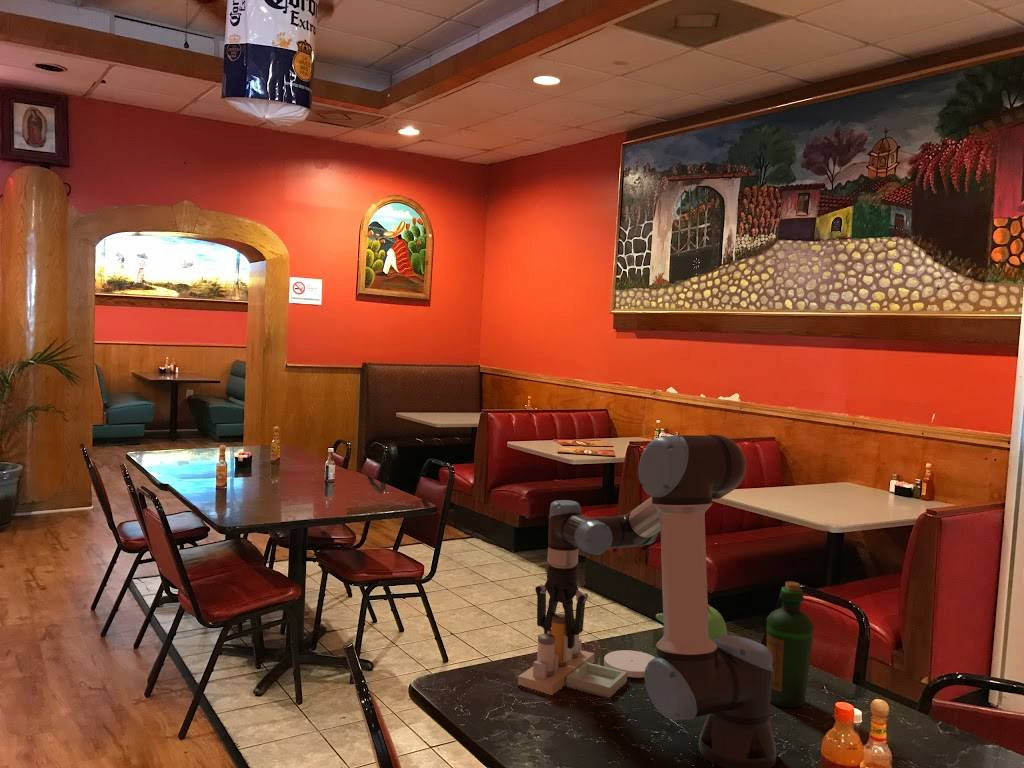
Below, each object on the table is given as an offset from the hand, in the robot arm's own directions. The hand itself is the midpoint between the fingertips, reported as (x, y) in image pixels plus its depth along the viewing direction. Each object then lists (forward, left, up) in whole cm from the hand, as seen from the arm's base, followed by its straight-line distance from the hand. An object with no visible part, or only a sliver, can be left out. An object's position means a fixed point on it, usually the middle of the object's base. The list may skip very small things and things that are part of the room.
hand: (558, 657), depth 207 cm
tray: (0, -10, -4) cm, 11 cm away
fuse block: (0, 0, -4) cm, 4 cm away
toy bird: (+32, -24, -4) cm, 40 cm away
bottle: (+17, -51, -4) cm, 54 cm away
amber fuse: (0, 0, -2) cm, 2 cm away
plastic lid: (+14, -14, -5) cm, 20 cm away
